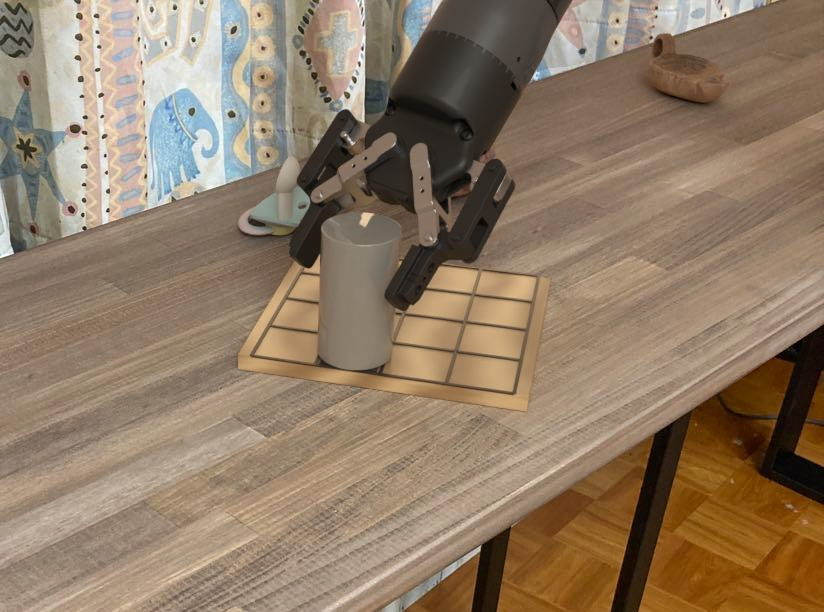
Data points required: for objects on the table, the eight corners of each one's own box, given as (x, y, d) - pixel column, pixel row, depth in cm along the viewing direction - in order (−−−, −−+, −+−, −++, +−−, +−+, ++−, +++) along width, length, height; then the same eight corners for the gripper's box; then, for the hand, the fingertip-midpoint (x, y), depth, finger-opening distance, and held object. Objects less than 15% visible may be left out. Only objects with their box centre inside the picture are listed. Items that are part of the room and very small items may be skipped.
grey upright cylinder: (398, 339, 79) (408, 216, 74) (384, 375, 75) (393, 249, 70) (326, 329, 80) (331, 207, 75) (309, 364, 76) (312, 239, 71)
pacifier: (225, 238, 96) (290, 248, 94) (221, 165, 92) (289, 174, 90) (259, 207, 101) (322, 215, 99) (257, 136, 97) (322, 144, 95)
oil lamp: (739, 109, 122) (751, 61, 119) (676, 113, 121) (687, 65, 118) (681, 73, 132) (691, 28, 129) (622, 76, 131) (631, 31, 128)
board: (549, 291, 88) (552, 276, 87) (526, 413, 74) (529, 395, 74) (302, 260, 92) (302, 245, 91) (237, 370, 78) (236, 353, 77)
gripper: (365, 5, 73) (239, 223, 74) (547, 52, 65) (404, 295, 66) (411, 73, 80) (295, 273, 80) (582, 122, 72) (451, 344, 73)
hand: (344, 283), depth 73 cm, fingers open, 8 cm apart
